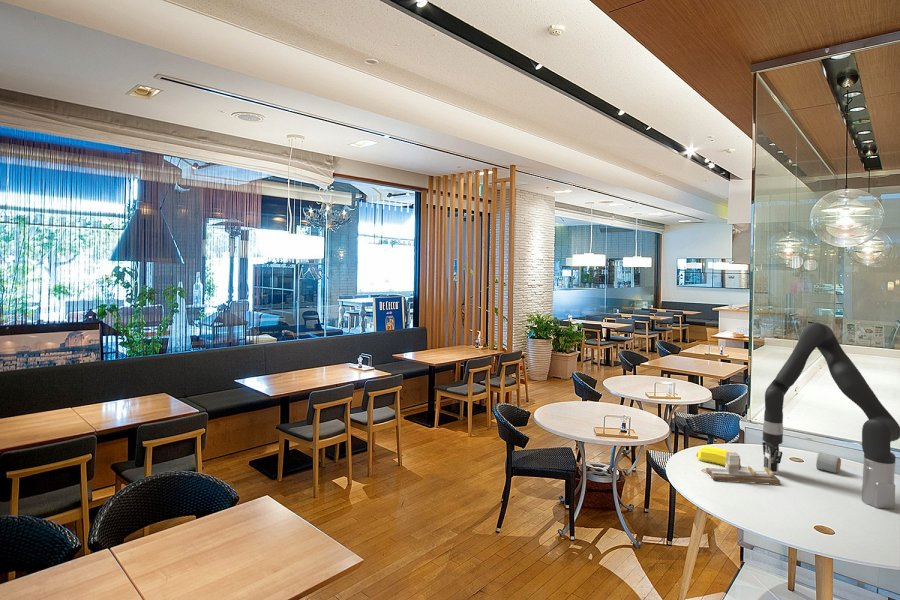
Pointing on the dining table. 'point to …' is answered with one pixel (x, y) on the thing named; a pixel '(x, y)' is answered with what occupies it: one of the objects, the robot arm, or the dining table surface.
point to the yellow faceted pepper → (712, 455)
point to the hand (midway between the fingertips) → (771, 468)
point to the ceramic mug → (828, 462)
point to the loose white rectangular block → (769, 462)
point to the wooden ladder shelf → (741, 472)
